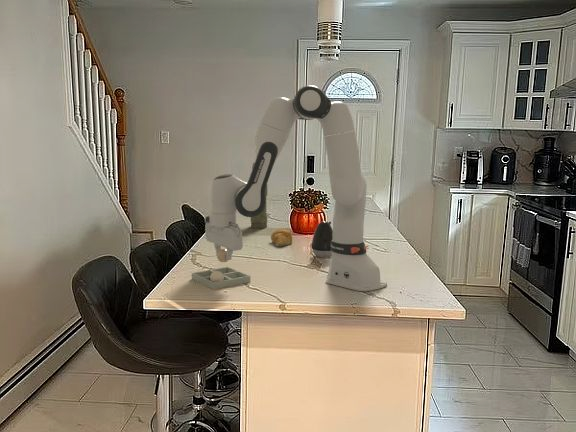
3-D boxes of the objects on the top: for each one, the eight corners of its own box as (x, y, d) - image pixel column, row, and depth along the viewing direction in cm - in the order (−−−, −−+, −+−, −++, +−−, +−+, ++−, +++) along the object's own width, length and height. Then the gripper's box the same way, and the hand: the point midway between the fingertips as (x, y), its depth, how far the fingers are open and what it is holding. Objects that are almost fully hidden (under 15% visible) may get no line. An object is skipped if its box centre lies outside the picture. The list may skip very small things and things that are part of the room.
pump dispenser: (339, 255, 237) (341, 220, 234) (327, 260, 228) (328, 224, 226) (319, 252, 242) (320, 218, 240) (306, 256, 234) (307, 221, 231)
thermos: (268, 225, 304) (268, 161, 298) (266, 229, 293) (266, 162, 287) (252, 224, 305) (252, 161, 299) (249, 228, 293) (249, 162, 287)
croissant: (285, 255, 251) (294, 240, 249) (266, 244, 250) (274, 229, 249) (289, 244, 271) (296, 230, 270) (271, 234, 271) (278, 220, 269)
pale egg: (226, 285, 189) (226, 271, 189) (214, 287, 187) (214, 273, 186) (219, 281, 193) (219, 268, 192) (207, 284, 190) (207, 270, 189)
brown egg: (232, 262, 199) (232, 249, 198) (221, 264, 196) (221, 251, 195) (225, 259, 203) (225, 247, 202) (214, 261, 200) (214, 248, 199)
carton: (250, 284, 194) (250, 275, 193) (213, 291, 185) (212, 283, 184) (227, 274, 205) (227, 266, 205) (191, 281, 196) (191, 273, 196)
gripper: (247, 223, 190) (246, 262, 193) (217, 215, 206) (217, 251, 209) (231, 225, 187) (231, 265, 189) (202, 216, 203) (202, 253, 205)
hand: (223, 257), depth 199 cm, fingers closed on brown egg, 5 cm apart
